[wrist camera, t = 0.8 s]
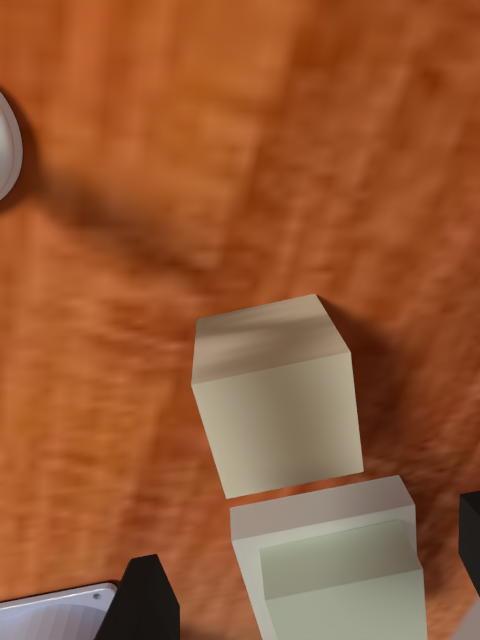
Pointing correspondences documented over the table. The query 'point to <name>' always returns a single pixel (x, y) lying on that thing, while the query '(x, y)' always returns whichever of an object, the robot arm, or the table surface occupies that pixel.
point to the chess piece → (9, 148)
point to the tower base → (312, 526)
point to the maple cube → (276, 396)
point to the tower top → (346, 586)
